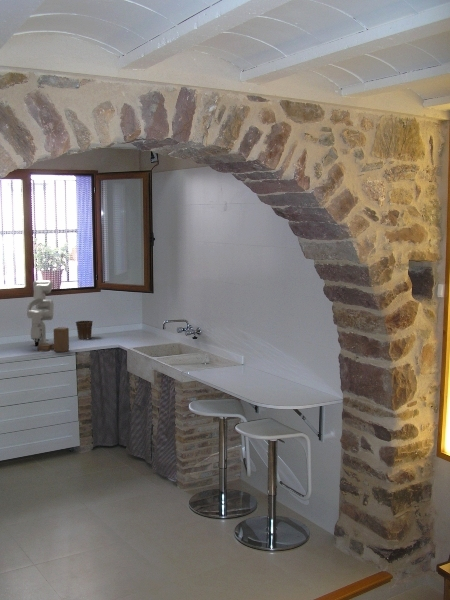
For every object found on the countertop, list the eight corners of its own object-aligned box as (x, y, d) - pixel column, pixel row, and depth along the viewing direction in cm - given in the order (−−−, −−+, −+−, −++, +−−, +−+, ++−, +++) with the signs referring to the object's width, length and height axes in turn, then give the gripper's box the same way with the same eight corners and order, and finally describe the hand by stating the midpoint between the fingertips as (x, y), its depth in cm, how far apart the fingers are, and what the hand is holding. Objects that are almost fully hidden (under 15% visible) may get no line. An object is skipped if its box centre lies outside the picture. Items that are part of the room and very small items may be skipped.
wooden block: (64, 352, 573) (63, 329, 570) (53, 351, 575) (53, 328, 572) (69, 350, 582) (69, 327, 580) (58, 349, 584) (58, 327, 582)
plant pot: (72, 338, 641) (72, 321, 639) (86, 336, 653) (85, 320, 651) (82, 340, 631) (82, 323, 629) (96, 338, 643) (96, 321, 641)
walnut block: (43, 348, 590) (43, 343, 590) (54, 349, 588) (53, 343, 587) (37, 350, 581) (37, 345, 580) (48, 351, 578) (48, 345, 578)
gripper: (46, 325, 586) (46, 345, 588) (31, 324, 591) (32, 344, 593) (40, 326, 579) (41, 347, 581) (26, 325, 584) (27, 346, 586)
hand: (36, 346), depth 587 cm, fingers closed
